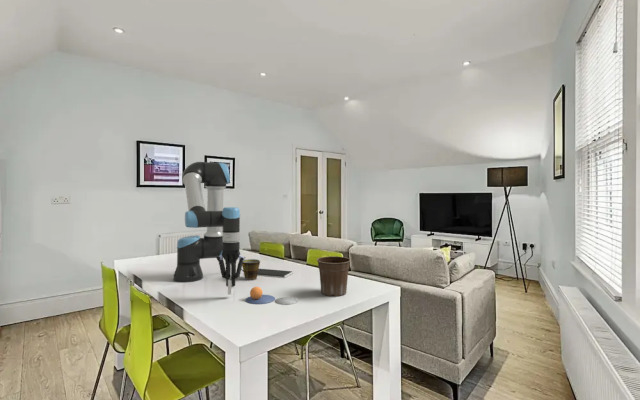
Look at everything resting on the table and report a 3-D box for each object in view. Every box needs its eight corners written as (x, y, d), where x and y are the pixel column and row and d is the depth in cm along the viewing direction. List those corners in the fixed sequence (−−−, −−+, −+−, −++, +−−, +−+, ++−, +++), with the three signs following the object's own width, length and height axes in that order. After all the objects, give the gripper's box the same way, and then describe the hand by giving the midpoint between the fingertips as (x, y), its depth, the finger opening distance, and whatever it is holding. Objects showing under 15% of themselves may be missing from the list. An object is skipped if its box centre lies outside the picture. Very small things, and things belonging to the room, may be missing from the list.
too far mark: (272, 303, 142) (272, 303, 142) (278, 296, 152) (278, 296, 152) (295, 305, 140) (295, 304, 140) (300, 298, 150) (300, 297, 150)
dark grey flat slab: (285, 279, 186) (285, 276, 186) (243, 275, 195) (243, 272, 195) (294, 274, 199) (294, 271, 199) (254, 270, 207) (254, 267, 207)
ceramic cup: (251, 275, 191) (251, 258, 191) (263, 278, 186) (263, 260, 185) (233, 280, 181) (233, 262, 181) (245, 283, 175) (246, 264, 175)
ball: (256, 303, 145) (246, 296, 146) (260, 299, 151) (250, 293, 151) (262, 293, 145) (252, 286, 145) (266, 289, 150) (255, 282, 151)
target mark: (240, 303, 142) (240, 302, 142) (251, 294, 155) (251, 293, 155) (270, 304, 140) (270, 304, 140) (278, 295, 153) (278, 295, 153)
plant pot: (335, 300, 148) (335, 264, 147) (309, 293, 158) (309, 259, 158) (357, 292, 160) (357, 259, 159) (331, 286, 170) (332, 255, 170)
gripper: (213, 242, 147) (213, 295, 147) (241, 243, 145) (241, 296, 145) (221, 240, 154) (220, 290, 155) (247, 240, 152) (247, 291, 153)
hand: (230, 293), depth 150 cm, fingers closed
